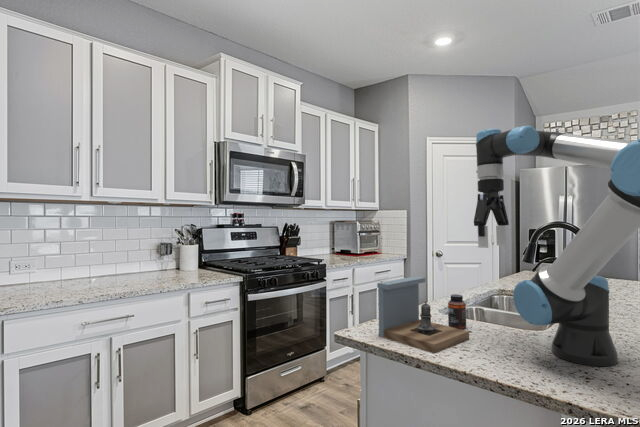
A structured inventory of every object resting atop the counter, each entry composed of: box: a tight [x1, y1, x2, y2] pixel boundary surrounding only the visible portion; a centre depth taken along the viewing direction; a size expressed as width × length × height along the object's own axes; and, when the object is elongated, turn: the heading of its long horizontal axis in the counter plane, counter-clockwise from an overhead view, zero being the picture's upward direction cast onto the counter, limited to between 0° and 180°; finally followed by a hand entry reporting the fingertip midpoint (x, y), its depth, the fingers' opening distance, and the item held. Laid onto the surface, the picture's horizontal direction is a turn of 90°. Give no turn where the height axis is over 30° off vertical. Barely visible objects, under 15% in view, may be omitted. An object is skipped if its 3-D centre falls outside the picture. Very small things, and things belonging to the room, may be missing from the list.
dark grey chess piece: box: [417, 301, 435, 336], centre depth 125 cm, size 6×6×12 cm
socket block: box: [383, 319, 470, 354], centre depth 125 cm, size 19×19×2 cm
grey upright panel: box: [376, 276, 426, 339], centre depth 132 cm, size 4×20×18 cm, turn 130°
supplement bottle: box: [447, 293, 467, 330], centre depth 137 cm, size 6×6×11 cm
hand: (492, 246), depth 122 cm, fingers open, 13 cm apart
